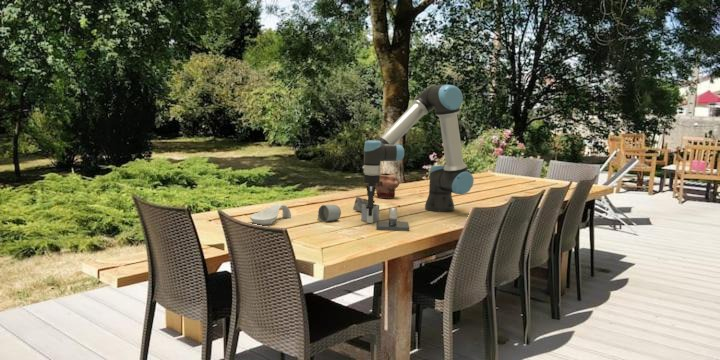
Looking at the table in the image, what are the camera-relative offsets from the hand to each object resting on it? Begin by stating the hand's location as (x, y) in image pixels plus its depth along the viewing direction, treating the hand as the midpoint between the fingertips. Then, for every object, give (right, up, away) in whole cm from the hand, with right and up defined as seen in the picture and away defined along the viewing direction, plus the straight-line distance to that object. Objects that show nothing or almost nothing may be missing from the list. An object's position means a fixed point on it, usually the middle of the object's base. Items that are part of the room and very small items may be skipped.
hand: (370, 219), depth 262 cm
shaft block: (+10, -2, -14) cm, 17 cm away
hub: (0, 0, 0) cm, 0 cm away
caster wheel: (-1, +2, +23) cm, 23 cm away
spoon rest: (-44, -1, -9) cm, 45 cm away
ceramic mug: (-20, 0, -3) cm, 20 cm away
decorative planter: (+9, +8, +67) cm, 68 cm away
